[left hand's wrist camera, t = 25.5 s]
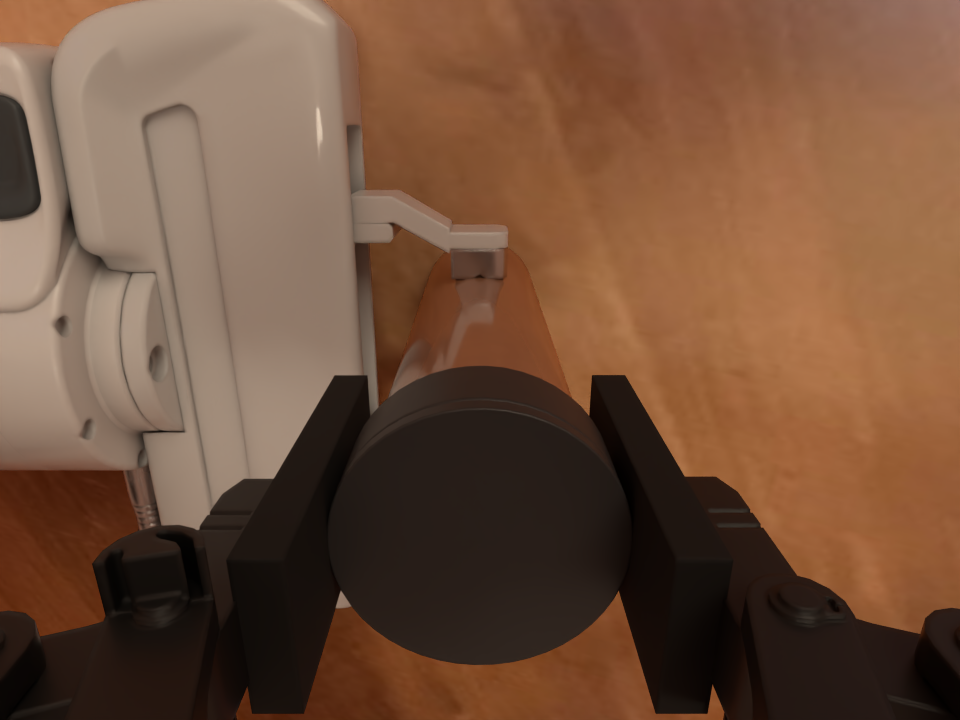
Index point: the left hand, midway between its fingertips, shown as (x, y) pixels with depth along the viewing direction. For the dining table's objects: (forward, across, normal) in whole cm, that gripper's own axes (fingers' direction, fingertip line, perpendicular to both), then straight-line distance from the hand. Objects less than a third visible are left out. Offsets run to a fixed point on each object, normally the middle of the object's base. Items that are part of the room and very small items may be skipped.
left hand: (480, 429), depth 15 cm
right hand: (+7, -1, 0) cm, 7 cm away
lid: (-4, 0, 0) cm, 4 cm away
